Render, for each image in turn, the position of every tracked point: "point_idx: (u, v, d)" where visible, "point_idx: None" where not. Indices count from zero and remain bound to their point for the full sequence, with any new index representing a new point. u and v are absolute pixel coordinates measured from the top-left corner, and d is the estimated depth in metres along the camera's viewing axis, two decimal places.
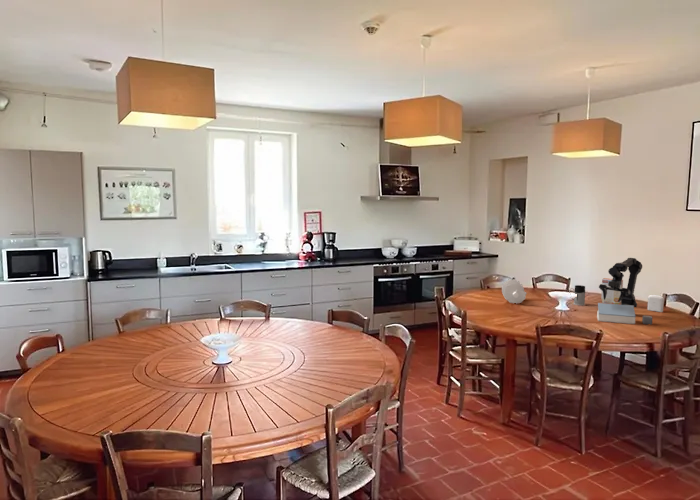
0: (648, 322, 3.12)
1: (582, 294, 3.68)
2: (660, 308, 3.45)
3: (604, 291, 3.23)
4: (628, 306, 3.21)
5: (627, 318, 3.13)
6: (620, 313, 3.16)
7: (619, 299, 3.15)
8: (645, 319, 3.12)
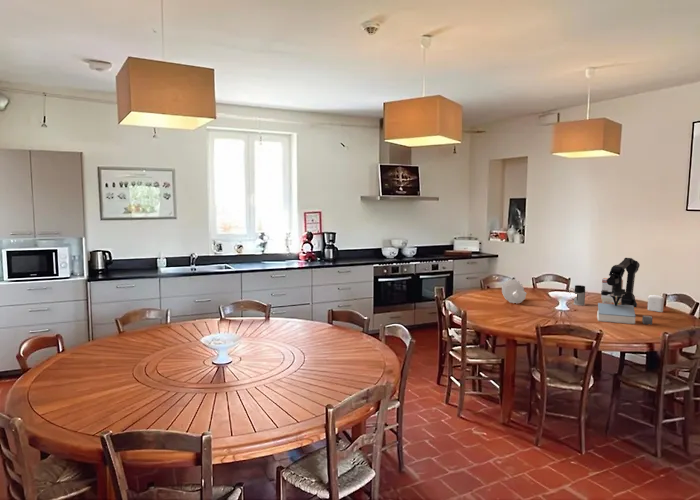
0: (648, 322, 3.12)
1: (582, 294, 3.68)
2: (660, 308, 3.45)
3: (614, 298, 3.22)
4: (628, 306, 3.21)
5: (627, 318, 3.13)
6: (620, 313, 3.16)
7: (616, 303, 3.22)
8: (645, 319, 3.12)
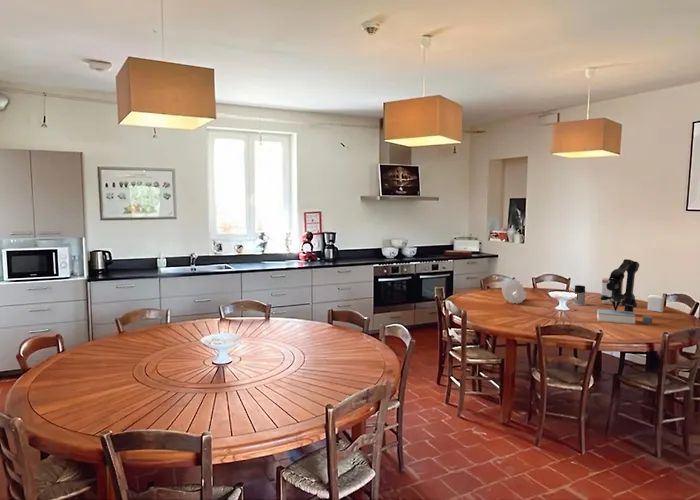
0: (648, 322, 3.12)
1: (582, 294, 3.68)
2: (660, 308, 3.45)
3: (614, 303, 3.22)
4: None
5: (627, 318, 3.13)
6: (620, 314, 3.17)
7: (616, 308, 3.23)
8: (645, 319, 3.12)
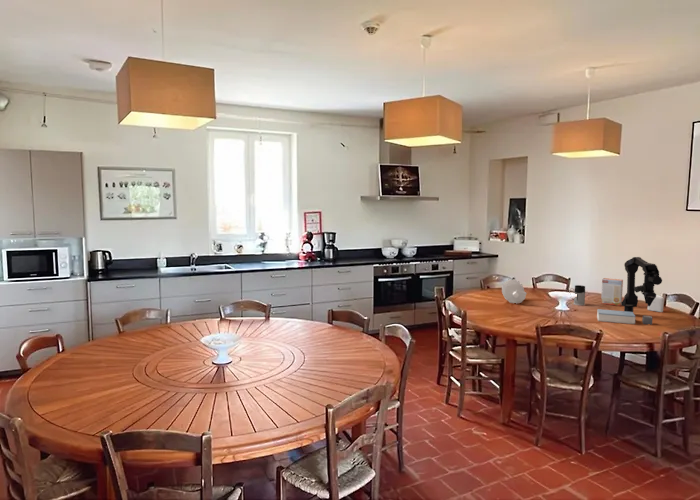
0: (648, 322, 3.12)
1: (582, 294, 3.68)
2: (660, 308, 3.45)
3: (644, 295, 3.18)
4: None
5: (627, 318, 3.13)
6: (620, 314, 3.17)
7: (647, 303, 3.09)
8: (645, 319, 3.12)
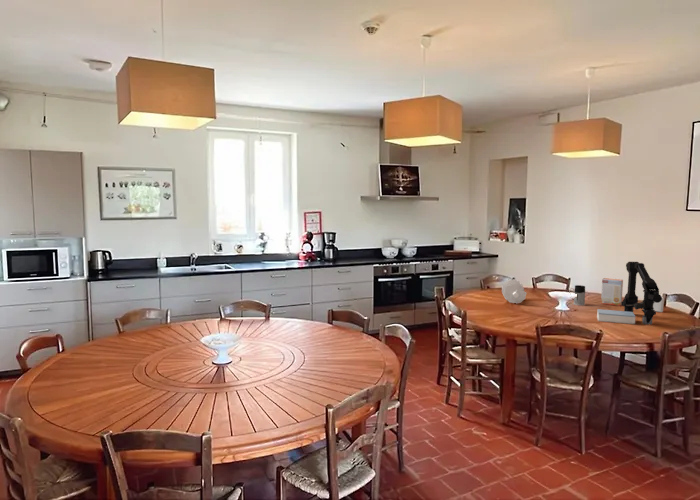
0: None
1: (582, 294, 3.68)
2: (660, 308, 3.45)
3: (644, 312, 3.17)
4: None
5: (627, 318, 3.13)
6: (620, 314, 3.17)
7: None
8: (645, 319, 3.12)
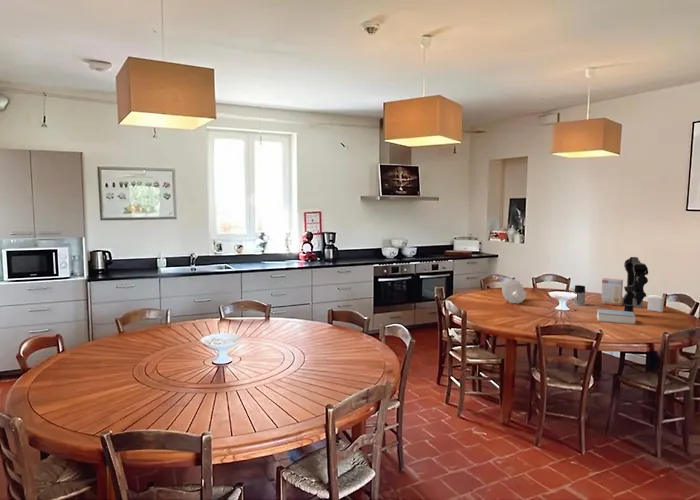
0: (638, 305, 3.13)
1: (582, 294, 3.68)
2: (660, 308, 3.45)
3: (634, 295, 3.19)
4: None
5: (627, 318, 3.13)
6: (620, 314, 3.17)
7: (637, 302, 3.13)
8: (635, 302, 3.13)
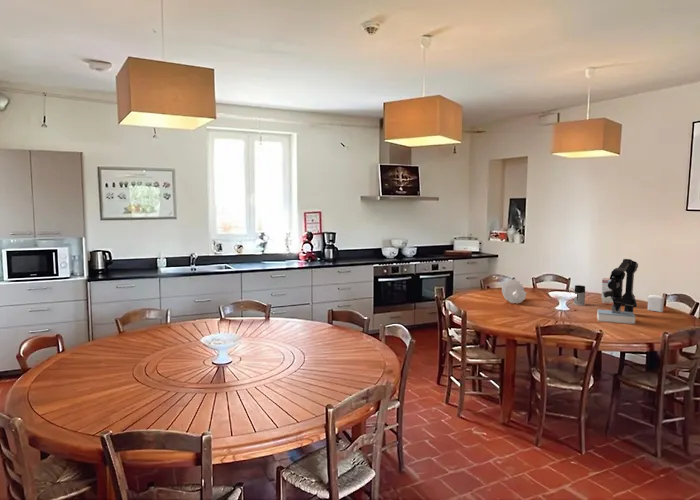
0: (616, 311, 3.19)
1: (582, 294, 3.68)
2: (660, 308, 3.45)
3: (613, 300, 3.26)
4: (627, 312, 3.23)
5: (627, 318, 3.13)
6: (620, 314, 3.17)
7: None
8: (614, 308, 3.19)
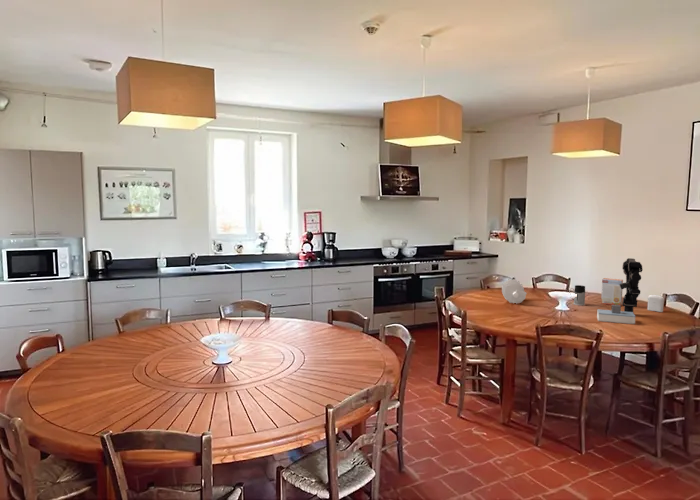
0: (616, 311, 3.19)
1: (582, 294, 3.68)
2: (660, 308, 3.45)
3: (629, 292, 3.30)
4: (627, 312, 3.23)
5: (627, 318, 3.13)
6: (620, 314, 3.17)
7: (632, 299, 3.21)
8: (614, 308, 3.19)
